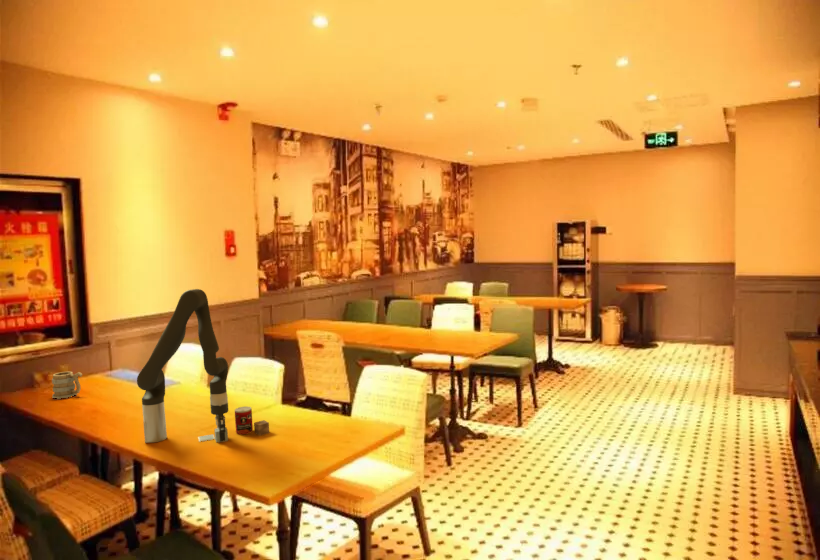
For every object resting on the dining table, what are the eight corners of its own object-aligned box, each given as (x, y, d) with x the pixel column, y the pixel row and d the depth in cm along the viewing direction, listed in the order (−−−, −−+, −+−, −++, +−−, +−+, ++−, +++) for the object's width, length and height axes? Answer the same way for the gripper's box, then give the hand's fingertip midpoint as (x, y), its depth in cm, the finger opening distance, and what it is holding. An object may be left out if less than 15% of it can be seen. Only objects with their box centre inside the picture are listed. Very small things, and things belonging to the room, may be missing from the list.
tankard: (47, 398, 349) (45, 374, 348) (65, 393, 361) (63, 369, 360) (73, 400, 343) (71, 375, 342) (91, 394, 356) (89, 370, 354)
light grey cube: (216, 442, 262) (215, 432, 261) (215, 439, 266) (214, 428, 266) (228, 440, 264) (227, 430, 263) (226, 437, 268) (225, 426, 268)
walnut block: (259, 435, 269) (258, 425, 268) (254, 433, 273) (253, 422, 272) (269, 433, 272) (268, 422, 271) (264, 430, 276) (263, 420, 275)
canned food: (235, 435, 270) (234, 412, 269) (236, 430, 278) (234, 407, 277) (253, 433, 272) (251, 410, 271) (252, 428, 280) (251, 405, 279)
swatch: (199, 441, 263) (199, 441, 263) (197, 437, 270) (197, 436, 270) (215, 439, 266) (214, 438, 266) (213, 434, 272) (213, 433, 272)
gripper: (208, 399, 268) (211, 435, 270) (212, 407, 255) (214, 445, 257) (225, 397, 272) (228, 432, 273) (229, 404, 258) (232, 441, 260)
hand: (221, 438), depth 265 cm, fingers open, 6 cm apart
